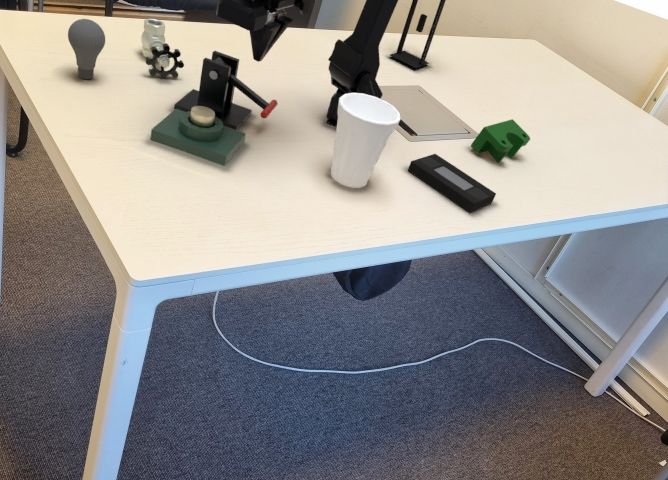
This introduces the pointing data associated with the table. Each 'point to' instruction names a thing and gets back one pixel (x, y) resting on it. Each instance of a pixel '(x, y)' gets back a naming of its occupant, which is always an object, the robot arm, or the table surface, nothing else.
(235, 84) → the lever
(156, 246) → the table surface
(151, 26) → the valve
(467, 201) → the vhs tape
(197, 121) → the button
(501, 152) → the clamp
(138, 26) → the table surface
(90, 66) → the light bulb
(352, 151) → the cup
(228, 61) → the bracket
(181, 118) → the button box
